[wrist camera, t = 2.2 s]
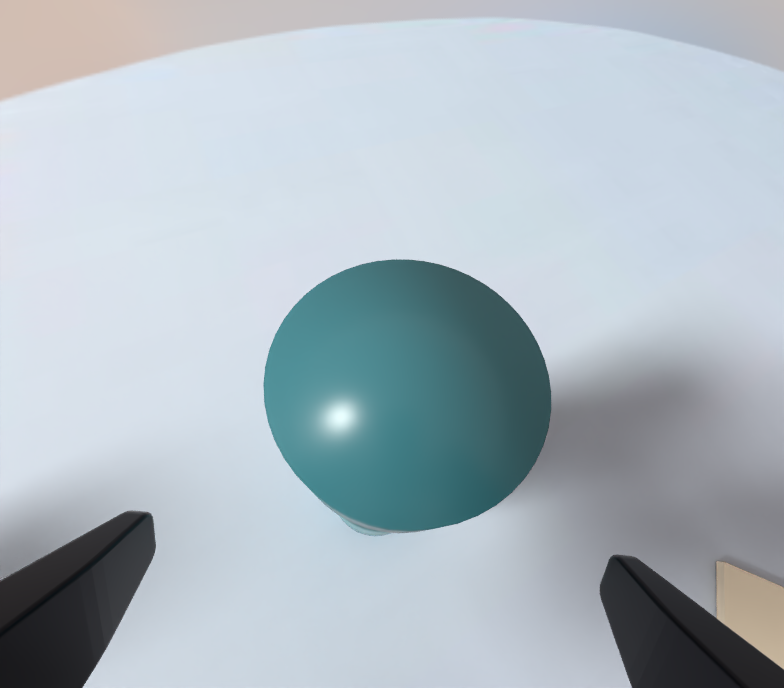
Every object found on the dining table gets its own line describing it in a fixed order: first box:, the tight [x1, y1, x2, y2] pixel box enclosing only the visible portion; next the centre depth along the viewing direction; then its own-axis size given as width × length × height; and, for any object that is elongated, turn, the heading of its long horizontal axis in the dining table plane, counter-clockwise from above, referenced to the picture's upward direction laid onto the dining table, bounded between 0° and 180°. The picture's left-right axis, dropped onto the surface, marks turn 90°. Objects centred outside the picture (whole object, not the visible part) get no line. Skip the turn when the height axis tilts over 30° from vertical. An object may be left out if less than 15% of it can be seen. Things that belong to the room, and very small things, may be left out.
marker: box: [264, 260, 551, 536], centre depth 11 cm, size 4×4×13 cm
